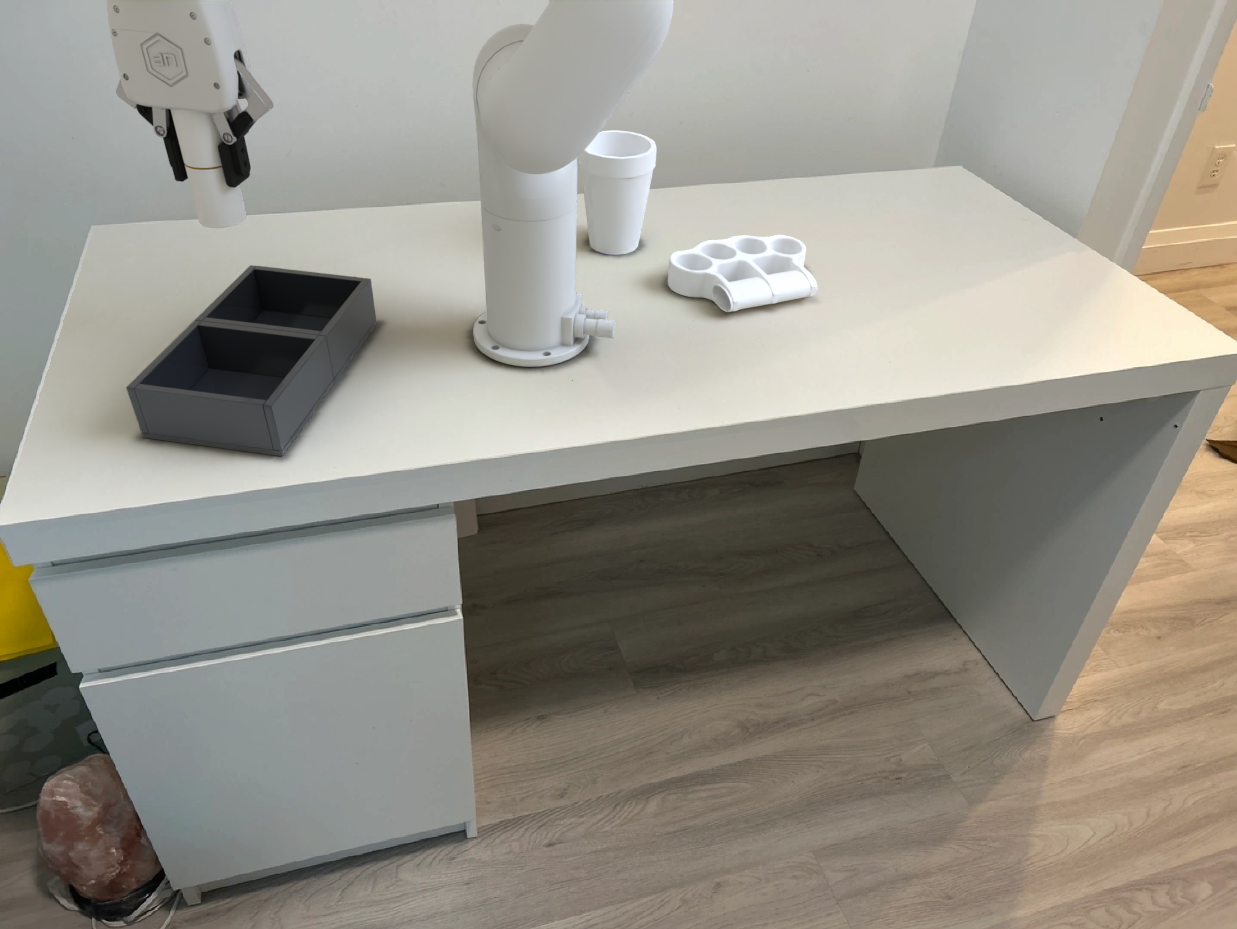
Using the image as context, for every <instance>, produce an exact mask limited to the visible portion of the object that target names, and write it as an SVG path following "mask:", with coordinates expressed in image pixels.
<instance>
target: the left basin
mask: <svg viewBox="0 0 1237 929" xmlns="http://www.w3.org/2000/svg"><path fill="white" fill-rule="evenodd" d="M334 385H335V384H334V380H333V374H332V369H331V363H330V357H329V351H328V346H327V340H326V336H318V335H312V334H304V333H296V332H287V331H279V330H271V329H263V328H254V327H246V326H238V325H230V324H221V323H213V322H205V321H202V322H201V321H195V320H193V321H192V322H191V323H190V324H189V325H188V326H187V327H186V328H185V329H184V330H183V331H182V332H181V333H179V334H178V336H176V338H175V339H173V341H171V343H170V344H169V345H167V347H166V348H164V350H162V351H161V352H160V353H159V354H158V355H157V356H156V357H155V358H154V359H153V360H152V361H151V362H150V363H149V364H148V365H147V366H146V367H145V368H144V369H143V370H142V371H141V372H140V373H139V374H138V375H137V376H136V377H135V378H134V379H133V380H132V381H130V383H129V384H127V386H126V387H125V389H126V392H127V395H128V397H129V400H130V403H131V406H132V409H133V413H134V415H135V418H136V421H137V424H138V427H139V430H140V432H141V433H140V434H141V436H142V438H144V439H150V440H151V439H152V440H159V441H166V442H172V443H173V442H174V443H181V444H189V445H196V446H204V447H212V448H217V449H218V448H219V449H226V450H232V451H239V452H240V451H241V452H247V453H254V454H262V455H268V456H269V455H270V456H278V457H283V456H284V455H285V454H286V453H287V451H288V450H289V449H290V447H291V446H292V444H293V443H294V441H295V440H296V439H297V437H298V435H299V434H300V432H301V431H302V430H303V429H304V427H305V426H306V425H307V423H308V422H309V420H310V419H311V417H312V416H313V415H314V413H315V412H316V410H317V409H318V408H319V406H320V405H321V404H322V402H323V401H324V399H325V398H326V396H328V394H329V392H331V389H332V388H333V386H334Z"/></svg>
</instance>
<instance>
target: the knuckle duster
mask: <svg viewBox="0 0 1237 929" xmlns="http://www.w3.org/2000/svg"><path fill="white" fill-rule="evenodd" d="M806 254H807V246H806V245H805V243H804V242H803V241H802V240H800V239H798V238H796V237H793V236H790V235H785V234H774V235H769V236H755V235H750V234H749V235H748V234H746V235H743V234H742V235H732V236H730V237H727V238H723V239H708V240H704V241H702V242H699V243H698V244H697V245H696V246H694V247H692V248H690V249H685V250H676V251H674V252H673V253H671V255H670V257H669V261H668V270H667V271H668V273H667V285H668V287H669V289H670V290H671V291H672V292H675V293H676V294H678V295H681V296H684V297H688V298H704V299H706V300H710V301H713V302H714V303H715V304H716V306H718V308H719V309H720V310H722V311H723V312H726V313H730V312H731V313H732V312H737V311H739V310H744V309H745V310H746V309H751V308H755V307H761V306H765V305H773V304H777V303H782V302H787V301H792V300H793V301H794V300H797V299H804V298H808V297H809V298H810V297H814V296H816V295H817V294H818V288H819V287H818V282H817V281H816V278H815V277H814V275H813V274H812V273H811V272H810V271H809V270H808V269H807V268H806V267H805V266H804V265H805V260H806Z"/></svg>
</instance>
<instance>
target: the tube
mask: <svg viewBox="0 0 1237 929" xmlns="http://www.w3.org/2000/svg"><path fill="white" fill-rule="evenodd" d="M171 113H172V117H173V121H174V125H175V129H176V133H177V137H178V141H179V145H180V149H181V153H182V157H183V160H184V164H185V168H186V172H187V176H188V184H189V189H190V192H191V196H192V199H193V204H194V208H195V211H196V215H197V220H198V223H199V224H200V225H201V226H203V227H205V228H209V229H226V228H231V227H235V226H237V225H240V224H242V223H244V222H245V221H246V219H247V217H248V215H247V212H246V207H245V201H244V198H243V192H242V189H241V184H239V185H238V186H237V187H235V188H234V187H229V186H228V185H227V184H226V181H225V177H224V172H223V168H222V164H221V159H220V155H219V151H218V145H219V144H220V143H222V142H223V140H222V138H221V136H220V133H219V131H218V129H217V126H216V124H215V122H214V119H213V117H212V115H211V113H204V112H194V111H184V110H174V109H171Z"/></svg>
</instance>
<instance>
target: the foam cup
mask: <svg viewBox="0 0 1237 929" xmlns="http://www.w3.org/2000/svg"><path fill="white" fill-rule="evenodd" d="M656 144H657V143H656V141H655V140H654V139H652V138H651V137H649V136H647V135H645V134H641V133H638V132H635V131H627V130H616V129H614V130H613V129H612V130H601V131H600V132H599V133H598V134H597V136H596V137H595V138H594V139H593V141H592V142H591V143H590V144H589V145H588V147H587V148H586V149H585V150H584V151H583V152H582V153H581V154H580V155H579V156H578V157H577V161H578V164H579V165H578V166H579V167H580V172H581V181H582V189H583V198H584V207H585V215H586V225H587V232H588V240H589V246H590V248H592V250H594V251H595V252H598V253H601V254H604V255H613V256H619V255H627V254H630V253H632V252H634V251H636V249H637V248H638V247H639V242H640V239H641V234H642V229H643V225H644V219H645V214H646V209H647V205H648V198H649V193H650V188H651V183H652V178H653V173H654V169H655V168H656V164H657V148H658V147H657V145H656Z"/></svg>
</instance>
